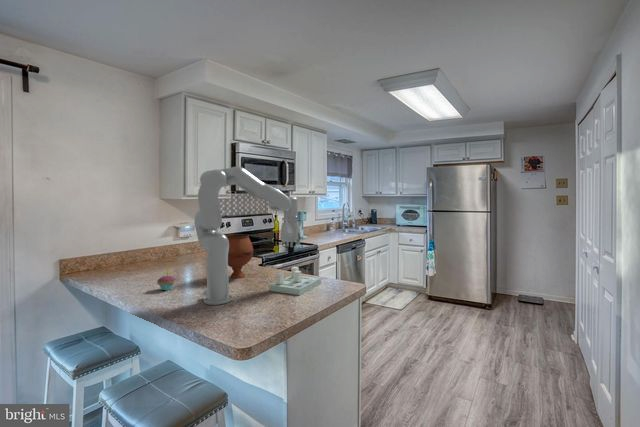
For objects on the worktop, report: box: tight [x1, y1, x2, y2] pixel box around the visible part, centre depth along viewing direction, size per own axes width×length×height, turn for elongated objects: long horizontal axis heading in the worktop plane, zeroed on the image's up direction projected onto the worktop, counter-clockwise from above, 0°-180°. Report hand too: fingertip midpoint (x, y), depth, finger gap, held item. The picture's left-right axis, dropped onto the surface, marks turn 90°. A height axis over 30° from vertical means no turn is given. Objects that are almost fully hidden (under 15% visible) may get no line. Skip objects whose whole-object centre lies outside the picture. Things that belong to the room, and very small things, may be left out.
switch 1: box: [275, 272, 285, 284], centre depth 167 cm, size 3×3×5 cm
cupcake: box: [156, 266, 176, 291], centre depth 170 cm, size 9×8×12 cm
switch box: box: [268, 275, 322, 296], centre depth 172 cm, size 18×22×3 cm
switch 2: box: [290, 266, 300, 277], centre depth 180 cm, size 3×3×5 cm
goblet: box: [225, 233, 254, 280], centre depth 194 cm, size 19×19×25 cm
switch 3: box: [293, 270, 302, 282], centre depth 171 cm, size 3×3×5 cm
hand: (290, 254), depth 176 cm, fingers closed
